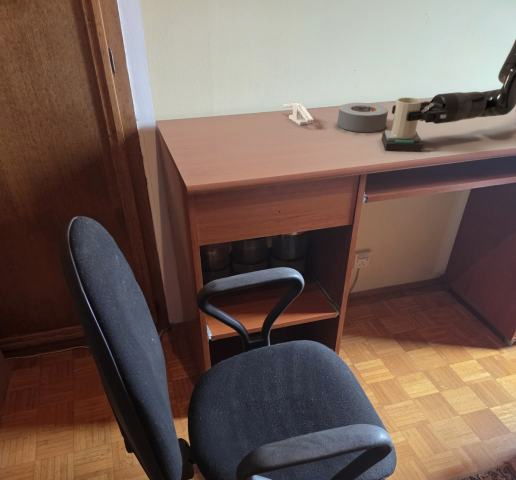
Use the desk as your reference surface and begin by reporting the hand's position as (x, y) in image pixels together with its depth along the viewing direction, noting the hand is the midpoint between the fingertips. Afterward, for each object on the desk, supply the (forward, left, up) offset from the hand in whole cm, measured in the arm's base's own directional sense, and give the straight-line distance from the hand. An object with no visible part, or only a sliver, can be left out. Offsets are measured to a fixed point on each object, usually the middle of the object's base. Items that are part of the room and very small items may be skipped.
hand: (400, 113), depth 124 cm
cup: (-2, -1, -6) cm, 6 cm away
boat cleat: (+28, -24, -9) cm, 38 cm away
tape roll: (+8, -20, -9) cm, 23 cm away
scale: (-2, -1, -9) cm, 9 cm away
